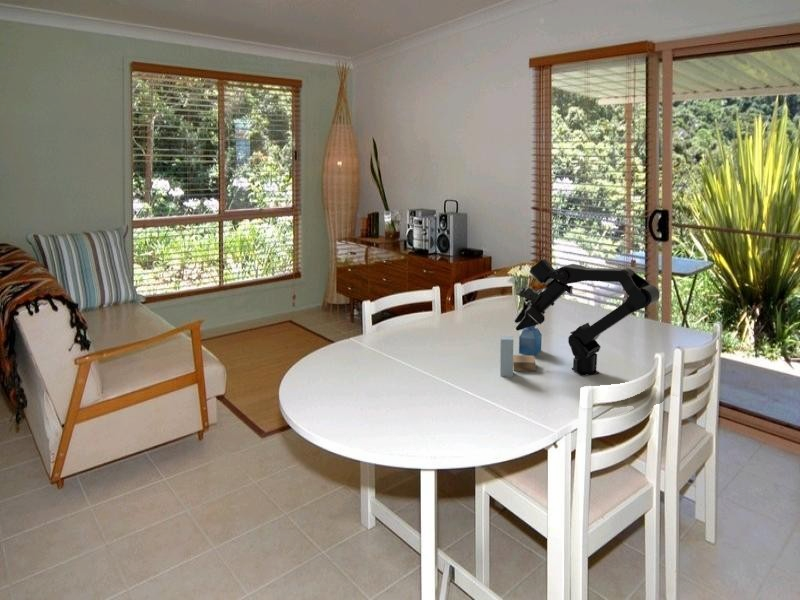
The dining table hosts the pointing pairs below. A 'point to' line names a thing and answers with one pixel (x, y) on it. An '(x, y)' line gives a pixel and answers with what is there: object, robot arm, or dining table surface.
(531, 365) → the walnut plinth
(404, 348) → the dining table surface
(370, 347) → the dining table surface
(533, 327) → the perfume bottle
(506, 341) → the slate-blue post
